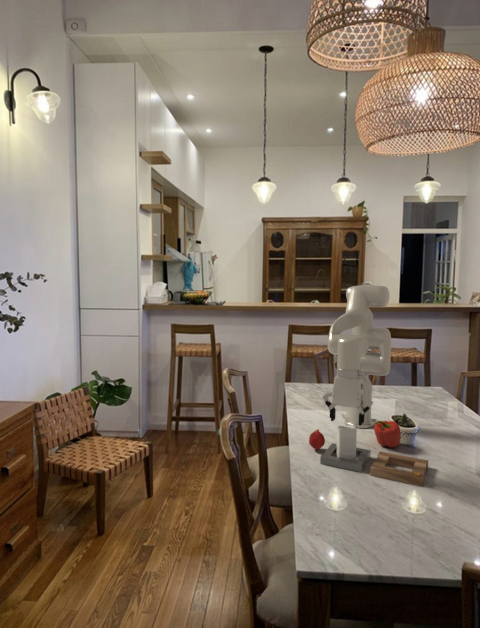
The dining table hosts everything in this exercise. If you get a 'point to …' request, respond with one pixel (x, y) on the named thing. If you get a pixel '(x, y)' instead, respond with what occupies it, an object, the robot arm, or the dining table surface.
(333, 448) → the gray square frame
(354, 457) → the skincare box
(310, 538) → the dining table surface
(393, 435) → the vegetable
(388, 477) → the frame
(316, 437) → the onion
